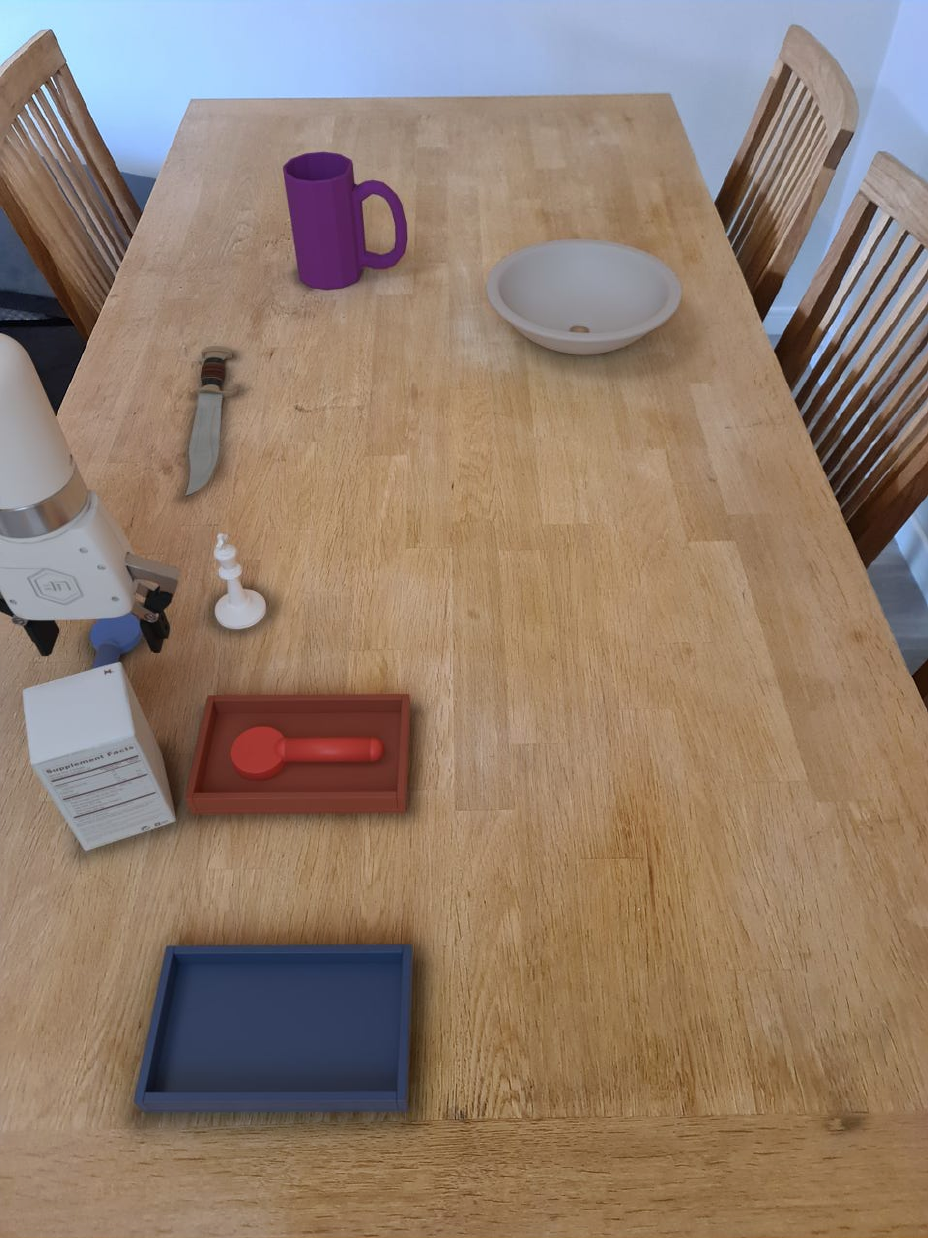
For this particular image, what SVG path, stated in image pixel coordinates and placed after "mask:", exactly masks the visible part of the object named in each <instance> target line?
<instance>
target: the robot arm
mask: <svg viewBox="0 0 928 1238" xmlns="http://www.w3.org/2000/svg"><path fill="white" fill-rule="evenodd" d="M181 574H182V571H181V569H180V568H178V567H176V566H173V565H169V564H166V563H162V562H160V561H155V560H152V559H149V558H146V557H142V556H139V555H136V552H135V550H134V549H133V547H132V545H131V543H130V541H129V539H128V537H127V535H126V534H125V532H124V530H123V528H122V526H121V525H120V523H119V521H118V520H117V518H116V517H115V515H114V514H113V513H112V510H111V509H110V507H108V505H107V504H106V503H105V501H104V500H103V498H102V497H101V496H100V495H99V494H98V492H97V491H96V490H93V489H90V488H88V487H87V485H86V483H85V480H84V478H83V476H82V473H81V471H80V469H79V467H78V464H77V462H76V459H75V458H74V455H73V452H72V450H71V448H70V445H69V444H68V441H67V439H66V437H65V434H64V432H63V430H62V427H61V425H60V423H59V420H58V418H57V416H56V413H55V411H54V408H53V407H52V403H51V402H50V400H49V397H48V395H47V392H46V390H45V388H44V386H43V383H42V381H41V379H40V376H39V375H38V372H37V370H36V367H35V364H34V363H33V361H32V359H31V357H30V355H29V353H28V351H27V350H26V348H24V346H22V344H21V343H20V342H18V341H17V340H16V339H15V338H13V337H11V336H9V335H7V334H5V333H1V332H0V613H2V614H4V615H6V616H9V617H10V618H11V623H13V624H14V625H16V626H19V627H23V629H24V630H25V632H26V634H27V636H28V637H29V639H30V641H31V642H32V643H33V644H34V646H35V647H36V649H37V650H38V653H39V654H40V656H41V657H50V655H52V653H53V651H54V648H55V646H56V642H57V640H58V637H59V634H60V627H59V626H58V624H57V622H56V621H70V620H71V621H72V620H73V621H74V620H99V619H103V618H116V617H121V616H124V615H127V614H128V613H130V614H132V615H134V616H136V617H137V618H140V619H139V621H140V628H141V630H142V632H143V636H144V639H145V641H146V643H147V646H148V648H149V650H150V652H151V653H153V654H161V653H162V649H163V646H164V641H165V640H168V639H169V637H170V633H171V624H170V621H169V619H168V617H167V615H166V612H165V609H167V608H168V607H169V606H170V605H171V604H172V602H173V598H174V597H175V596H174V595H175V594H176V590H177V588H178V585H179V581H180V578H181ZM150 582H151V583H154V584H157V586H154V585H152V584H151V583H150ZM136 594H138V595H140V596H141V597H143V598H145V599H144V602H143V601H141V600H139V599H137V598H136Z"/></svg>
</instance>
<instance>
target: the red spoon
mask: <svg viewBox="0 0 928 1238" xmlns="http://www.w3.org/2000/svg"><path fill="white" fill-rule="evenodd" d="M383 753H384V746H383V743H382V742H381V741H380V740H379V739H377V738H374V737H338V738H284V736H283V735H282V734H281V733H280V732H279V731H278V730H276V729H274V728H271V727H265V726H260V727H254V728H251V729H248V730H246V731H244V732H243V733H241V734H240V735H239V736H238V737H237V738H236V739H235V741H234V742H233V744H232V747H231V751H230V756H231V760H232V763H233V766H234V768H235V770H236V771H237V773H238V774H240V775H241V776H242V777H244V778H246V779H250V780H264V779H268V778H270V777H273V776H274V775H276V774H277V773H279V772H280V771H281V770H282V769H283V768H284V766H285V765H286V763H287V762H375V761H377V760H379V759H380V758H381V757H382V755H383Z"/></svg>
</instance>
